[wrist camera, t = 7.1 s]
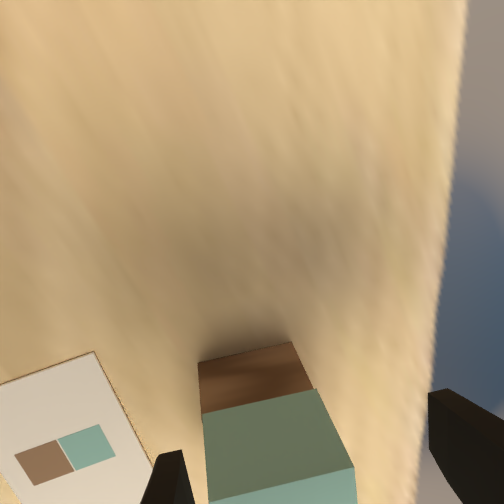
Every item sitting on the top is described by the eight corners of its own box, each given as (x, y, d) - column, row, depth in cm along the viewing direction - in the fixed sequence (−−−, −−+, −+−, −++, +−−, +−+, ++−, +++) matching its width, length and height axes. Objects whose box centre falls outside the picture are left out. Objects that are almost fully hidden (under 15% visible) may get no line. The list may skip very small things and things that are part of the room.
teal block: (222, 502, 21) (233, 605, 16) (201, 414, 19) (208, 502, 15) (326, 477, 21) (363, 570, 17) (316, 388, 20) (354, 467, 15)
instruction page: (48, 540, 25) (47, 543, 25) (-45, 400, 22) (-47, 403, 22) (167, 495, 26) (167, 498, 25) (93, 351, 22) (92, 353, 22)
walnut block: (215, 438, 25) (222, 506, 21) (197, 362, 23) (201, 419, 19) (302, 417, 25) (327, 480, 21) (291, 341, 24) (315, 392, 20)
